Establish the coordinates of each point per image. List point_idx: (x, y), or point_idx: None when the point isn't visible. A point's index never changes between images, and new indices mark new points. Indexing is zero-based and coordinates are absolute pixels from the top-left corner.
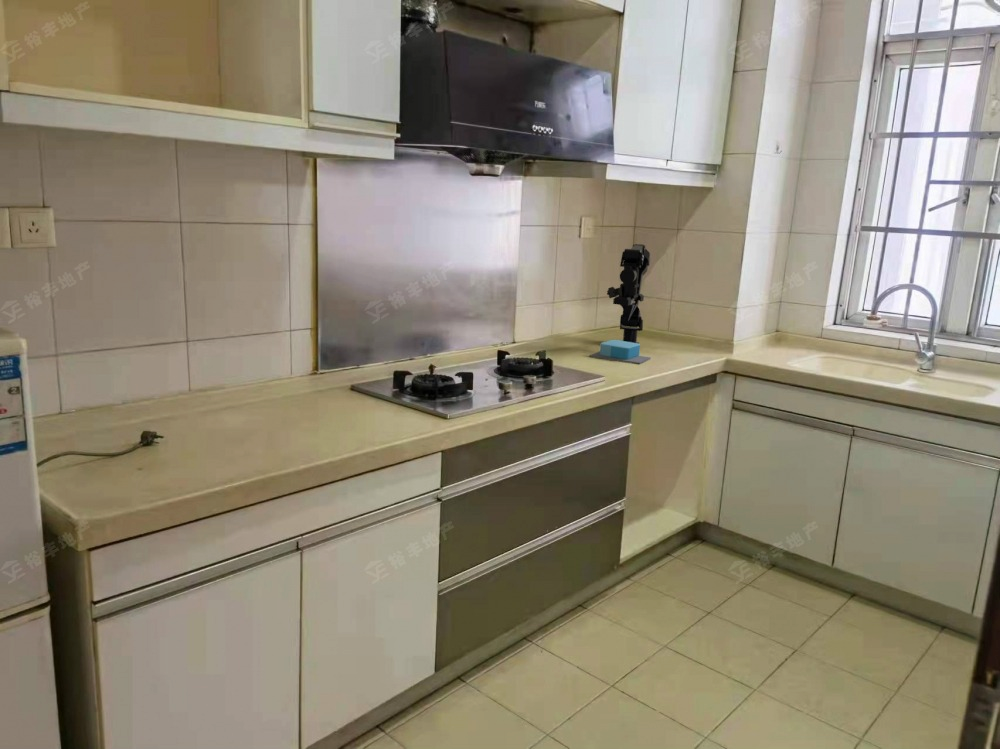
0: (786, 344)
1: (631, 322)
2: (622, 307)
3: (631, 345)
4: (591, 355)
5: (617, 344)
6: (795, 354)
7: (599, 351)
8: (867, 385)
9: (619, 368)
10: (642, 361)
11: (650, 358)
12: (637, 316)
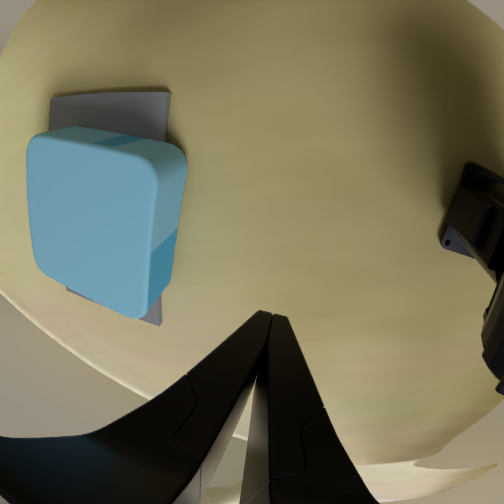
0: (473, 475)
1: (501, 303)
2: (88, 433)
3: (79, 283)
4: (50, 105)
5: (52, 219)
6: (394, 494)
7: (132, 94)
8: (214, 500)
9: (9, 237)
10: (84, 297)
11: (160, 323)
12: (500, 386)
